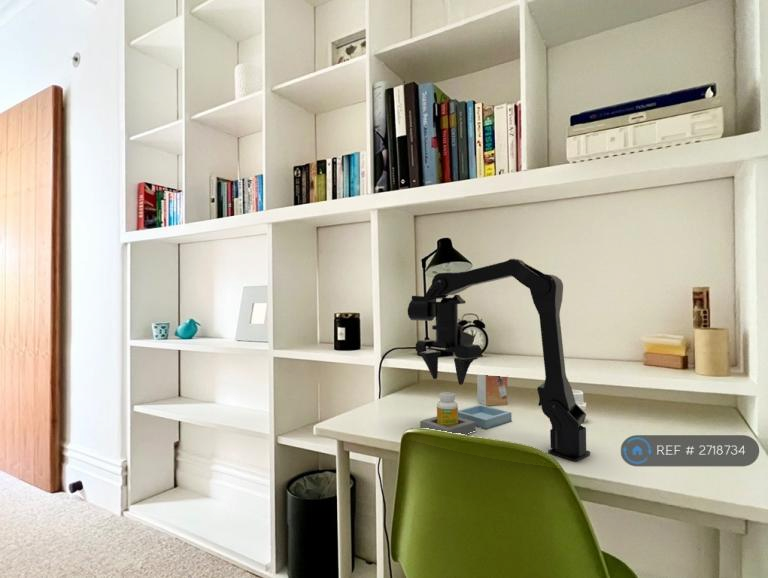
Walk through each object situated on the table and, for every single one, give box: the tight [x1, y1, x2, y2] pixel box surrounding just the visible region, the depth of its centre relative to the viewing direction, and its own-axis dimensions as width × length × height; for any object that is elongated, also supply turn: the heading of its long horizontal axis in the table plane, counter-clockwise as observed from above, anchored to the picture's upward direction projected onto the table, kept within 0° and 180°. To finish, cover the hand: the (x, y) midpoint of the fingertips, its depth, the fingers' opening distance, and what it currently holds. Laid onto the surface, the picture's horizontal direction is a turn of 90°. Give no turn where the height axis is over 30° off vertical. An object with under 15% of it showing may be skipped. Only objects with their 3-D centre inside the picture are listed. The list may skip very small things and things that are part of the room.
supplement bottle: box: [436, 391, 459, 427], centre depth 111 cm, size 5×5×10 cm
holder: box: [419, 416, 477, 435], centre depth 111 cm, size 10×10×2 cm
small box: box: [476, 374, 509, 407], centre depth 138 cm, size 8×6×10 cm
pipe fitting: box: [572, 389, 587, 411], centre depth 118 cm, size 6×7×8 cm
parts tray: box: [458, 404, 513, 430], centre depth 119 cm, size 11×11×2 cm
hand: (447, 381), depth 111 cm, fingers open, 9 cm apart
